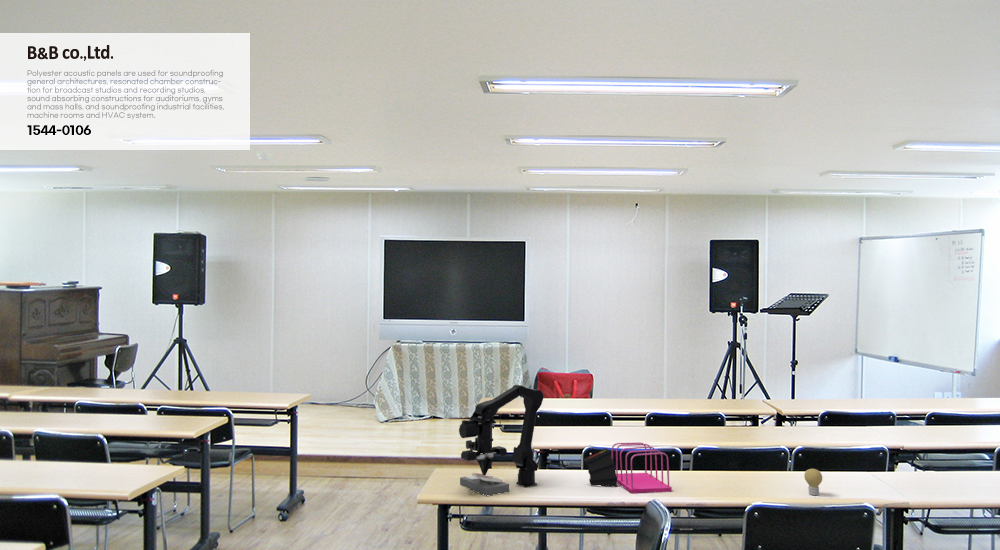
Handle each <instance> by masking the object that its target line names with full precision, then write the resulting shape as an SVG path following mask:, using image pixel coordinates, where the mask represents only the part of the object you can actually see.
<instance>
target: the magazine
mask: <svg viewBox="0 0 1000 550" xmlns="http://www.w3.org/2000/svg"><path fill="white" fill-rule="evenodd" d="M583 460H584V464H585V466H586V467H587V469H588V470H587V472H588V475H589V484H591V485H601V486H600V487H613V486H616V487H618V485H617V484H618V483H617V476H616V463H615V462H614V459H613V460H612V452H611V451H610V450H609V448H603V450H600V451H598V452H596V453H594V454H591V455H589V456H587V457H585V458H584V459H583ZM591 485H590V486H591Z"/></svg>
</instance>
